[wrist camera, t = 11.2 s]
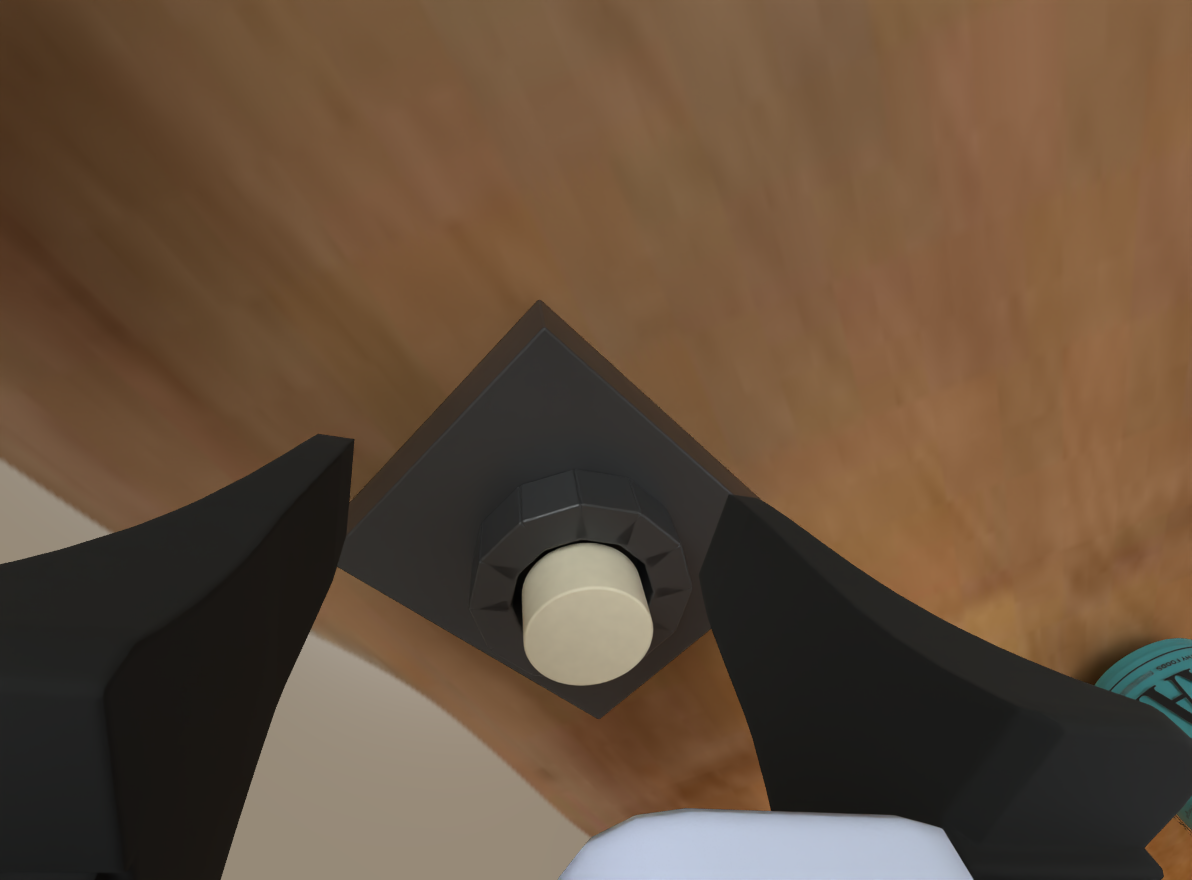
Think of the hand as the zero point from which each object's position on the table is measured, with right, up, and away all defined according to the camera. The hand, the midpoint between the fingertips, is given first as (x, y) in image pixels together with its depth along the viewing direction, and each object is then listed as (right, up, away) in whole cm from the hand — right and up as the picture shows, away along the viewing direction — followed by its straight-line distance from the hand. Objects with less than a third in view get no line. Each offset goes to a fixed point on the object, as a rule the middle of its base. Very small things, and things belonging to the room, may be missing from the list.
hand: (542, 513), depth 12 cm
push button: (+1, -3, +7) cm, 8 cm away
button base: (0, -1, +11) cm, 11 cm away
